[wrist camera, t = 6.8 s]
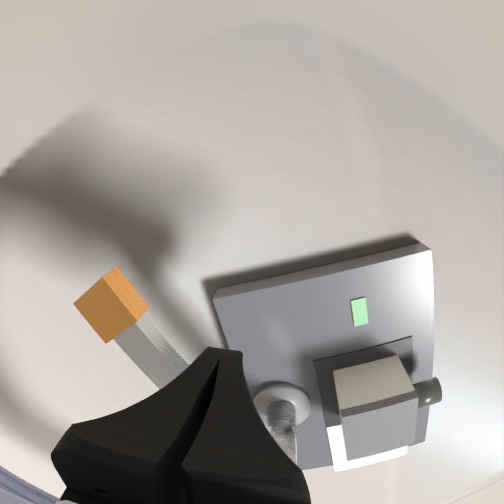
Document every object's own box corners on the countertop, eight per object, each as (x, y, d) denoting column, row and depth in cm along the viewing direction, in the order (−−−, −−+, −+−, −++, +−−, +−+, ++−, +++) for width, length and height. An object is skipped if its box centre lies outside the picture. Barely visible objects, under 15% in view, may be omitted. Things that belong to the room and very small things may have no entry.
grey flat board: (279, 465, 23) (279, 484, 21) (217, 288, 19) (210, 304, 17) (418, 435, 21) (425, 453, 19) (420, 242, 17) (435, 252, 15)
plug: (339, 415, 19) (347, 460, 15) (332, 370, 18) (341, 417, 14) (424, 392, 18) (444, 432, 14) (427, 345, 17) (453, 385, 13)
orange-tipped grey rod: (303, 413, 18) (306, 482, 13) (276, 425, 19) (273, 492, 13) (155, 239, 16) (102, 277, 11) (129, 260, 16) (73, 303, 11)
